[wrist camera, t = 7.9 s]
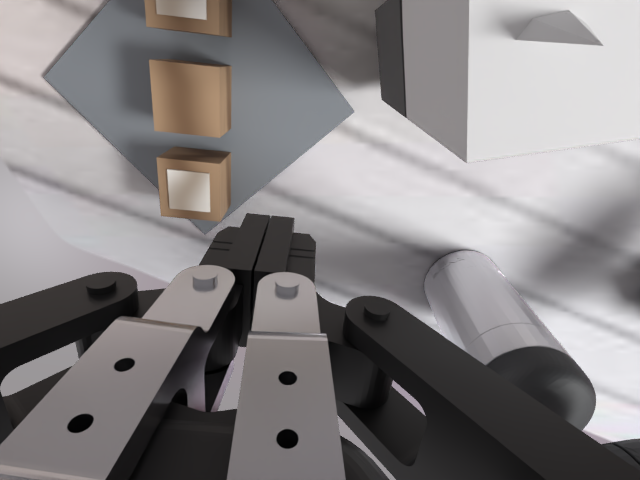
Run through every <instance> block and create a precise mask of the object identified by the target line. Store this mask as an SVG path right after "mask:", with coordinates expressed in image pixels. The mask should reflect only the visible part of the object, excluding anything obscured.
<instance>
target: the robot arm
mask: <svg viewBox="0 0 640 480" xmlns="http://www.w3.org/2000/svg"><path fill="white" fill-rule="evenodd" d="M315 249H316V242H315V241H314V239H313V238H312V237H311V236H310V234H301V233H294V218H290V217H280V216H271V219H270V216H269V215H259V214H249V213H247V214H246V216H245V218H244V220H243V222H242V225H241V227H240V228H239V227H227V228H225V229H224V230H222V231H220V232H218V233H217V235H216V237H215V238H214V240H213V242H212V244H211V245H210V247H209V249H208V250H207V252H206V254H205V255H204V257H203V259H202V261H201V262H200V264H199V266H194V267H190V268H188V269H185V270H183V271H181V272H180V273H179V274H178V275H177V276H176V277H175V278H174V279H173V281H172V282H171V283H170V284H169V286H168V287H167V288H165V289H157V290H146V291H138V289H137V282H136V280H135V279H134V278H133V277H132V276H130V275H128V274H125V273H120V272H102V273H96V274H92V275H88V276H85V277H82V278H79V279H76V280H73V281H70V282H67V283H64V284H61V285H58V286H55V287H52V288H48V289H45V290H42V291H39V292H36V293H33V294H30V295H27V296H24V297H21V298H18V299H15V300H12V301H9V302H6V303H3V304H0V385H1V382H2V380H3V379H4V377H5V376H6V375H7V374H8V373H9V372H10V371H12V370H13V369H15V368H16V367H18V366H20V365H23V364H25V363H27V362H30V361H32V360H34V359H36V358H39V357H41V356H43V355H46V354H48V353H50V352H52V351H55V350H57V349H59V348H62V347H64V346H66V345H68V344H70V343H73V342H76V347H77V352H78V357H79V360H78V361H77V362H76V363H75V364H74V365H73V366H71V367H69V368H67V369H65V370H63V371H61V372H59V373H56V374H54V375H52V376H50V377H48V378H46V379H44V380H42V381H40V382H38V383H35V384H34V385H31V386H29V387H27V388H25V389H23V390H21V391H19V392H17V393H14V394H12V395H9V396H5V397H2V395H1V392H0V480H389V479H388V478H387V476H386V475H385V474H384V473H383V471H381V469H380V468H379V467H378V466H377V465H376V463H375V462H374V461H373V460H372V459H371V458H370V457H369V456H368V455H366V453H365V452H363V451H362V450H361V449H360V448H358V447H357V446H356V445H354V444H353V443H352V442H350V441H348V440H347V439H345V438H344V437H342V436H340V432H339V424H338V417H337V415H338V416H339V417H340V418H341V419H342V420H343V421H344V422H345V424H346V425H347V426H348V427H349V428H350V429H351V430H352V431H353V432H354V433H355V435H356V436H357V437H358V438H359V439H360V440H361V441H362V442H363V443H364V444H365V446H366V447H367V448H368V449H369V450H370V451H371V452H372V453H373V454H374V456H375V457H376V458H377V459H378V460H379V461H380V462H381V463H382V464H383V465H384V467H386V469H387V470H388V471H389V472H390V473H391V474H392V475H393V476H394V478H395V479H396V480H640V439H631V440H624V441H618V442H612V443H606V444H600V443H598V442H597V441H595V440H594V439H592V438H591V437H589V436H588V435H586V434H585V433H584V432H582V430H583V429H584V428H585V426H586V425H587V424H588V422H589V421H590V419H591V417H592V415H593V413H594V410H595V406H596V394H595V391H594V388H593V386H592V383H591V382H590V380H589V378H588V377H587V376H586V374H585V373H584V372H583V371H582V369H581V368H580V367H579V366H578V364H577V363H576V362H575V361H574V360H573V359H572V357H571V356H570V355H569V354H568V352H567V351H566V350H565V349H564V348H563V346H562V345H561V344H560V343H559V342H558V340H557V339H556V338H555V337H554V336H553V335H552V333H551V332H550V331H549V330H548V328H547V327H546V326H545V325H544V324H543V322H542V321H541V320H540V319H539V318H538V316H537V315H536V314H535V313H534V311H533V310H532V309H531V308H530V307H529V305H528V304H527V303H526V302H525V301H524V299H523V298H522V297H521V296H520V294H519V293H518V292H517V291H516V290H515V288H514V287H513V286H512V285H511V284H510V282H509V281H508V280H507V278H506V277H505V276H504V275H503V274H502V272H501V271H500V270H499V269H498V268H497V266H496V265H495V264H494V263H493V261H492V260H491V259H489V258H488V257H487V256H486V255H484V254H482V253H479V252H475V251H466V250H464V251H457V252H454V253H450V254H448V255H446V256H444V257H442V258H441V259H439V260H438V261H437V262H436V263H435V264H434V265H433V266H432V267H431V268H430V270H429V271H428V273H427V275H426V278H425V281H424V291H425V295H426V297H427V300H428V302H429V304H430V307H431V309H432V311H433V314H434V316H435V319H436V321H437V323H438V326H439V328H440V330H441V333H442V335H443V336H442V335H441V334H439V333H438V332H436V331H435V330H433V329H432V328H431V327H429V326H428V325H426V324H425V323H423V322H422V321H420V320H419V319H417V318H416V317H414V316H413V315H412V314H410V313H409V312H407V311H406V310H404V309H403V308H401V307H400V306H398V305H397V304H395V303H394V302H392V301H390V300H387V299H384V298H381V297H376V296H361V297H357V298H354V299H352V300H351V301H349V303H348V304H347V306H346V308H345V307H342V306H338V305H335V304H332V303H330V302H328V301H326V300H325V299H323V298H322V297H321V296H320V295H319V294H318V293H317V292H316V288H315V285H314V278H315ZM238 346H240V347H246V353H245V360H244V366H243V373H242V381H241V387H240V393H239V400H238V407H237V409H233V410H225V411H218V409H219V406H220V403H221V401H222V398H223V396H224V393H225V391H226V388H227V386H228V383H229V380H230V378H231V375H232V373H233V370H234V357H235V355H236V353H237V349H238ZM393 380H394V381H395V382H396V383H397V384H399V385H400V386H401V387H402V388H403V389H404V390H406V391H407V392H408V393H409V394H410V395H411V396H412V397H414V398H415V399H416V400H417V401H418V402H419V404H420V405H421V406H422V408H423V410H424V412H425V415H426V416H425V415H423V414H422V413H421V412H420V411H419V410H418V409H417V408H416V407H414V406H413V405H412V404H411V403H410V402H409V401H408V400H407V399H405V398H404V397H403V396H402V395H401V394H400V393H399V392H398V391H396V390H395V389H394V388H393V387H392V386H391V385H392V381H393Z"/></svg>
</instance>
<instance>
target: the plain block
mask: <svg viewBox="0 0 640 480" xmlns="http://www.w3.org/2000/svg"><path fill="white" fill-rule="evenodd" d="M149 67H150V80H151V93H152V106H153V119H154V131H160V132H170V133H179V134H189V135H198V136H208V137H217V138H220V137H221V136H223V135H224V134H225V133H226V132H228V131H229V130H230V129H231V85H232V66H227V65H219V64H210V63H201V62H192V61H183V60H174V59H149Z"/></svg>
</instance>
